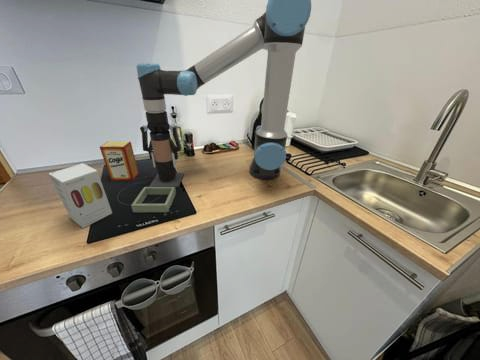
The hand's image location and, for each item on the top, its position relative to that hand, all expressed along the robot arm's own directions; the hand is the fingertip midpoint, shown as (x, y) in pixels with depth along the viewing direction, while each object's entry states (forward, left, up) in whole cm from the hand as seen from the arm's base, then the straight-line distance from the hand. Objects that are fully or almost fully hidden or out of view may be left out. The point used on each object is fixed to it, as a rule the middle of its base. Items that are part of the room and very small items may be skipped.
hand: (165, 165), depth 85 cm
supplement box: (+19, +24, -7) cm, 32 cm away
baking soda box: (+20, -3, -7) cm, 22 cm away
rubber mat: (0, 0, -7) cm, 7 cm away
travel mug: (0, 0, -5) cm, 5 cm away
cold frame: (0, +16, -7) cm, 18 cm away
